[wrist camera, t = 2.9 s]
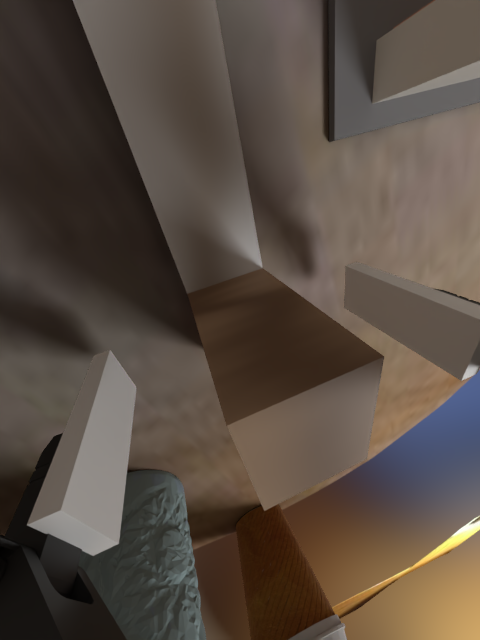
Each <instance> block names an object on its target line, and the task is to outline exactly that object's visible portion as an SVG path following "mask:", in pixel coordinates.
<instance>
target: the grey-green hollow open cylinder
mask: <svg viewBox="0 0 480 640" xmlns="http://www.w3.org/2000/svg"><path fill="white" fill-rule="evenodd" d="M191 542H192V541H191V537H190V528H189V524H188V521H187V508H186V501H185V494H184V488H183V485H182V483H181V482H180V480H179V479H178V478H177V477H176V476H174V474H171V473H169V472H166V471H160V470H141V471H134V472H129V473H127V476H126V485H125V494H124V503H123V512H122V521H121V530H120V538H119V544H117V545H115V546H113V547H111V548H109V549H107V550H105V551H102V552H100V553H98V554H96V555H94V556H92V555H90V554H88V553H86V552H84V551H81V556H80V561H79V565H78V566H80V567H81V568H82V569H83V570H84V571H85V572H86V574H87V575H88V577H89V579H90V580H91V582H92V584H93V585H94V587H95V589H96V590H97V592H98V593H99V595H100V597H101V598H102V600H103V602H104V603H105V605H106V606H107V608H108V610H109V611H110V613H111V615H112V616H113V618H114V620H115V621H116V623H117V624H118V626H119V628H120V629H121V631H122V633H123V634H124V636H125V637H126V639H127V640H206V635H205V628H204V625H203V622H202V618H201V612H200V595H199V591H198V590H197V587H198V580H197V575H196V569H195V568H194V562H195V561H194V556H193V548H192V545H191Z"/></svg>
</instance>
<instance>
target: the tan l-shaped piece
mask: <svg viewBox="0 0 480 640" xmlns="http://www.w3.org/2000/svg"><path fill="white" fill-rule="evenodd" d="M73 2H74V5H75V8H76V10H77V13H78V15H79V18H80V20H81V23H82V25H83V28H84V31H85V33H86V36H87V38H88V41H89V43H90V46H91V49H92V51H93V54H94V56H95V59H96V61H97V64H98V66H99V69H100V72H101V74H102V77H103V79H104V82H105V84H106V87H107V89H108V92H109V95H110V97H111V100H112V102H113V105H114V107H115V110H116V113H117V115H118V118H119V120H120V123H121V125H122V128H123V130H124V133H125V136H126V138H127V141H128V143H129V146H130V148H131V151H132V154H133V156H134V159H135V161H136V164H137V166H138V169H139V171H140V174H141V177H142V179H143V182H144V184H145V187H146V189H147V192H148V195H149V197H150V200H151V202H152V205H153V207H154V210H155V212H156V215H157V218H158V220H159V223H160V225H161V228H162V230H163V233H164V236H165V238H166V241H167V243H168V246H169V248H170V251H171V253H172V256H173V259H174V261H175V264H176V266H177V269H178V271H179V274H180V277H181V279H182V282H183V284H184V287H185V289H186V292H187V295H188V298H189V301H190V305H191V308H192V311H193V315H194V318H195V321H196V325H197V328H198V331H199V335H200V338H201V341H202V345H203V348H204V351H205V355H206V358H207V361H208V365H209V368H210V371H211V375H212V378H213V381H214V385H215V388H216V391H217V395H218V398H219V401H220V405H221V408H222V411H223V415H224V418H225V421H226V425H227V427H228V430H229V432H230V434H231V436H232V439H233V441H234V443H235V446H236V448H237V450H238V452H239V455H240V457H241V459H242V461H243V464H244V466H245V468H246V471H247V473H248V475H249V477H250V480H251V482H252V484H253V486H254V489H255V491H256V493H257V495H258V498H259V500H260V502H261V505H262V507H263V509H264V511H265V510H267V509H269V508H271V507H273V506H275V505H277V504H279V503H281V502H283V501H285V500H287V499H289V498H291V497H293V496H295V495H297V494H299V493H301V492H303V491H305V490H307V489H309V488H311V487H312V486H314V485H316V484H318V483H320V482H322V481H324V480H326V479H328V478H330V477H332V476H334V475H336V474H338V473H340V472H342V471H344V470H346V469H348V468H350V467H352V466H354V465H356V464H358V463H360V462H361V461H363V460H365V459H367V455H368V449H369V443H370V437H371V431H372V425H373V419H374V413H375V407H376V402H377V396H378V390H379V384H380V378H381V372H382V366H383V360H384V356H382V355H381V354H380V353H378V352H377V351H376V350H374V349H373V348H371V347H370V346H369V345H367V344H366V343H365V342H363V341H362V340H360V339H359V338H358V337H356V336H355V335H354V334H352V333H351V332H350V331H348V330H347V329H345V328H344V327H343V326H341V325H340V324H339V323H337V322H336V321H334V320H333V319H332V318H330V317H329V316H328V315H326V314H325V313H323V312H322V311H321V310H319V309H318V308H317V307H315V306H314V305H312V304H311V303H310V302H308V301H307V300H306V299H304V298H303V297H301V296H300V295H299V294H297V293H296V292H295V291H293V290H292V289H290V288H289V287H288V286H286V285H285V284H284V283H282V282H281V281H279V280H278V279H277V278H275V277H274V276H273V275H271V274H270V273H268V272H267V271H266V270H264V269H263V268H262V262H261V256H260V250H259V245H258V239H257V233H256V228H255V222H254V216H253V211H252V205H251V199H250V193H249V188H248V182H247V176H246V171H245V165H244V159H243V153H242V148H241V142H240V136H239V131H238V125H237V119H236V113H235V108H234V102H233V96H232V91H231V85H230V79H229V73H228V68H227V62H226V56H225V51H224V45H223V39H222V34H221V28H220V22H219V16H218V11H217V5H216V0H73Z"/></svg>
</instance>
